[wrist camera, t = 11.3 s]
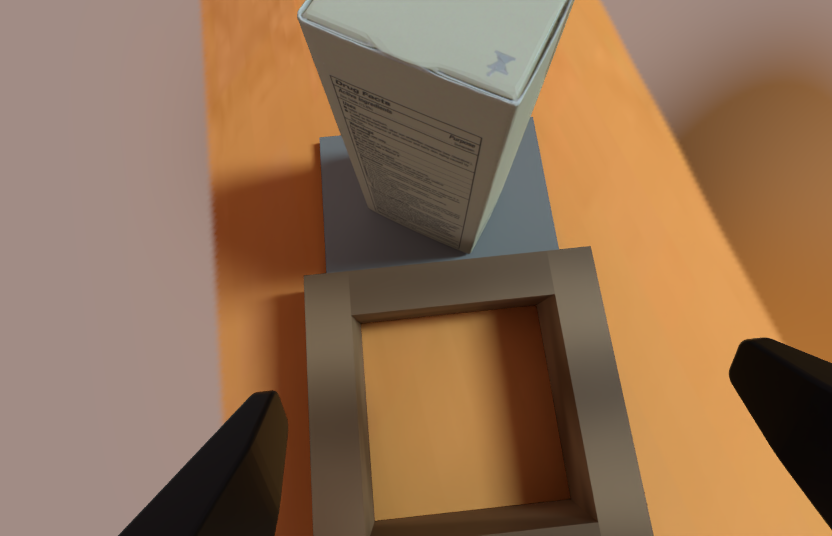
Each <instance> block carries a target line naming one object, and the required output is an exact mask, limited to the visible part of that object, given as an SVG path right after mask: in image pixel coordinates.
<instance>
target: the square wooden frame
mask: <svg viewBox="0 0 832 536" xmlns="http://www.w3.org/2000/svg"><path fill="white" fill-rule="evenodd" d="M304 295H305V323H306V350H307V377H308V404H309V432H310V459H311V486H312V513H313V536H654V535H653V530H652V526H651V521H650V517H649V512H648V508H647V503H646V498H645V494H644V489H643V485H642V480H641V475H640V471H639V466H638V462H637V457H636V452H635V448H634V443H633V439H632V434H631V429H630V425H629V420H628V416H627V411H626V407H625V402H624V397H623V393H622V388H621V384H620V379H619V374H618V370H617V365H616V361H615V356H614V351H613V347H612V342H611V338H610V333H609V328H608V324H607V319H606V315H605V310H604V306H603V301H602V296H601V292H600V287H599V283H598V278H597V273H596V269H595V264H594V260H593V255H592V250H591V246H588V247H578V248H568V249H559V250H549V251H539V252H529V253H520V254H510V255H500V256H490V257H481V258H471V259H461V260H451V261H442V262H432V263H422V264H412V265H402V266H393V267H383V268H373V269H363V270H354V271H344V272H334V273H324V274H315V275H305V276H304ZM531 305H537V311H538V316H539V322H540V328H541V333H542V339H543V345H544V350H545V356H546V361H547V367H548V373H549V378H550V384H551V390H552V395H553V401H554V407H555V412H556V418H557V424H558V429H559V435H560V440H561V446H562V452H563V457H564V463H565V469H566V474H567V480H568V486H569V491H570V497H571V499H568V500H559V501H550V502H541V503H533V504H524V505H515V506H506V507H497V508H488V509H479V510H470V511H461V512H452V513H443V514H434V515H425V516H416V517H407V518H398V519H390V520H381V521H375V520H374V505H373V491H372V477H371V462H370V448H369V434H368V420H367V405H366V391H365V377H364V362H363V348H362V334H361V323H368V322H378V321H388V320H397V319H407V318H416V317H426V316H435V315H445V314H455V313H464V312H474V311H483V310H493V309H502V308H512V307H522V306H531Z"/></svg>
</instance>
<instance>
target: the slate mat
mask: <svg viewBox="0 0 832 536" xmlns="http://www.w3.org/2000/svg"><path fill="white" fill-rule="evenodd" d="M320 156H321V175H322V195H323V215H324V234H325V254H326V273H334V272H344V271H354V270H363V269H373V268H383V267H393V266H402V265H412V264H422V263H432V262H442V261H451V260H461V259H471V258H481V257H490V256H500V255H510V254H520V253H529V252H539V251H549V250H559V247H558V242H557V237H556V232H555V227H554V222H553V217H552V212H551V207H550V202H549V197H548V192H547V187H546V182H545V177H544V171H543V166H542V161H541V156H540V151H539V146H538V141H537V136H536V131H535V126H534V121H533V117H530V119H529V122H528V124H527V127H526V129H525V132H524V134H523V137H522V140H521V142H520V145H519V147H518V150H517V153H516V155H515V158H514V161H513V163H512V166H511V168H510V171H509V174H508V176H507V179H506V181H505V184H504V187H503V189H502V192H501V194H500V196H499V199H498V201H497V203H496V205H495V208H494V210H493V212H492V214H491V216H490V218H489V220H488V222H487V224H486V226H485V228H484V230H483V232H482V234H481V236H480V238H479V239H478V241H477V243H476V245H475V247H474V249H473V250H472V252H471V253H470V254H467V253H464V252H462V251H460V250H457V249H455V248H452V247H450V246H448V245H445V244H443V243H441V242H438V241H436V240H434V239H432V238H429V237H427V236H425V235H423V234H420V233H418V232H416V231H414V230H412V229H409V228H407V227H405V226H403V225H401V224H399V223H397V222H395V221H393V220H391V219H389V218H386V217H384V216H382V215H381V214H379V213H377V212H375V211H372V210H371V209H369V208H368V206H367V203H366V200H365V198H364V195H363V192H362V190H361V187H360V184H359V181H358V179H357V176H356V174H355V171H354V168H353V165H352V163H351V160H350V157H349V155H348V152H347V150H346V147H345V144H344V141H343V139H342V136H331V137H321V138H320Z"/></svg>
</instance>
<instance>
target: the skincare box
mask: <svg viewBox="0 0 832 536" xmlns="http://www.w3.org/2000/svg"><path fill="white" fill-rule="evenodd" d="M573 3H574V0H306V1H305V2H304V3H303V5H302V6H301V8H300V9H299V10H298V14H297V18H298V20H299V23H300V26H301V28H302V31H303V34H304V37H305V39H306V42H307V44H308V47H309V50H310V53H311V55H312V58H313V61H314V63H315V66H316V68H317V71H318V74H319V77H320V79H321V82H322V85H323V87H324V90H325V93H326V95H327V98H328V101H329V104H330V106H331V109H332V112H333V115H334V117H335V120H336V123H337V125H338V128H339V131H340V133H341V136H342V139H343V141H344V144H345V147H346V150H347V152H348V155H349V157H350V160H351V163H352V165H353V168H354V171H355V174H356V176H357V179H358V181H359V184H360V187H361V190H362V192H363V195H364V198H365V200H366V203H367V206H368V208H369V209H371V210H372V211H375V212H377V213H379V214H381V215H382V216H384V217H386V218H389V219H391V220H393V221H395V222H397V223H399V224H401V225H403V226H405V227H407V228H409V229H412V230H414V231H416V232H418V233H420V234H423V235H425V236H427V237H429V238H432V239H434V240H436V241H438V242H441V243H443V244H445V245H448V246H450V247H452V248H455V249H457V250H460V251H462V252H464V253H467V254H470V253H471V252H472V250H473V249H474V247H475V245H476V243H477V241H478V239H479V238H480V236H481V234H482V232H483V230H484V228H485V226H486V224H487V222H488V220H489V218H490V216H491V214H492V212H493V210H494V208H495V205H496V203H497V201H498V199H499V196H500V194H501V192H502V189H503V187H504V184H505V181H506V179H507V176H508V174H509V171H510V168H511V166H512V163H513V161H514V158H515V155H516V153H517V150H518V147H519V145H520V142H521V140H522V137H523V134H524V132H525V129H526V127H527V124H528V122H529V119H530V116H531V114H532V111H533V109H534V106H535V103H536V101H537V98H538V96H539V93H540V90H541V88H542V85H543V82H544V80H545V77H546V74H547V72H548V69H549V67H550V64H551V61H552V59H553V56H554V53H555V51H556V48H557V45H558V43H559V40H560V37H561V35H562V32H563V29H564V27H565V24H566V21H567V19H568V16H569V13H570V11H571V8H572V5H573Z"/></svg>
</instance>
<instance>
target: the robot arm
mask: <svg viewBox="0 0 832 536" xmlns="http://www.w3.org/2000/svg"><path fill="white" fill-rule="evenodd" d="M729 378H730V381H731V383H732V385H733V386H734V388H735V390H736V391H737V393H738V395H739V396H740V398H741V399H742V401H743V403H744V404H745V406H746V408H747V409H748V411H749V412H750V414H751V416H752V417H753V419H754V420H755V422H756V424H757V425H758V427H759V429H760V430H761V432H762V433H763V435H764V437H765V438H766V440H767V441H768V443H769V445H770V446H771V448H772V449H773V451H774V452H775V454H776V455H777V457H778V458H779V460H780V461H781V463H782V464H783V465H784V467H785V468H786V470H787V471H788V472H789V474H790V475H791V476H792V478H793V479H794V480H795V482H796V483H797V484H798V486H799V487H800V488H801V490H802V491H803V492H804V494H805V495H806V496H807V498H808V499H809V500H810V502H811V503H812V504H813V506H814V507H815V508H816V510H817V511H818V512H819V514H820V515H821V516H822V518H823V519H824V520H825V522H826V523H827V524H828V526H829V527H830V528H831V530H832V363H830V362H828V361H825V360H822V359H820V358H818V357H815V356H813V355H810V354H807V353H805V352H802V351H800V350H798V349H795V348H793V347H790V346H788V345H785V344H783V343H780V342H778V341H775V340H773V339H770V338H754V339H746V340H744V341H742V342H741V343H740V345H739V347H738V349H737V352H736V354H735V357H734V359H733V362H732V364H731V367H730V369H729ZM287 437H288V421H287V417H286V414H285V411H284V408H283V406H282V403H281V400H280V397H279V395H278V393H277V392H276V391H273V390H272V391H263V392H256V393H254V394H252V395H251V396H250V397H249V398H248V399H247V400H246V401H245V402H244V403H243V404H242V405H241V407H240V408H239V409H238V410H237V411H236V412H235V413H234V414H233V415H232V416H231V417H230V418H229V419H228V420H227V421H226V422H225V423H224V424H223V426H222V427H221V428H220V429H219V430H218V431H217V432H216V433H215V434H214V435H213V436H212V437H211V438H210V439H209V440H208V441H207V442H206V443H205V445H204V446H203V447H202V448H201V449H200V450H199V451H198V452H197V453H196V454H195V455H194V456H193V457H192V458H191V459H190V460H189V461H188V462H187V464H186V465H185V466H184V467H183V468H182V469H181V470H180V471H179V472H178V473H177V474H176V475H175V476H174V477H173V478H172V479H171V481H169V483H168V484H167V485H166V486H165V487H164V488H163V489H162V490H161V491H160V492H159V493H158V494H157V495H156V496H155V498H153V500H152V501H151V502H150V503H149V504H148V505H147V506H146V507H145V508H144V509H143V510H142V511H141V512H140V513H139V514H138V515H137V516H136V517H135V518H134V519H133V521H132V522H131V523H130V524H129V525H128V526H127V527H126V528H125V529H124V530H123V531H122V532H121V533H120V534H119V535H118V536H274V534H275V530H276V525H277V520H278V514H279V508H280V500H281V491H282V482H283V473H284V464H285V455H286V446H287Z"/></svg>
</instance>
